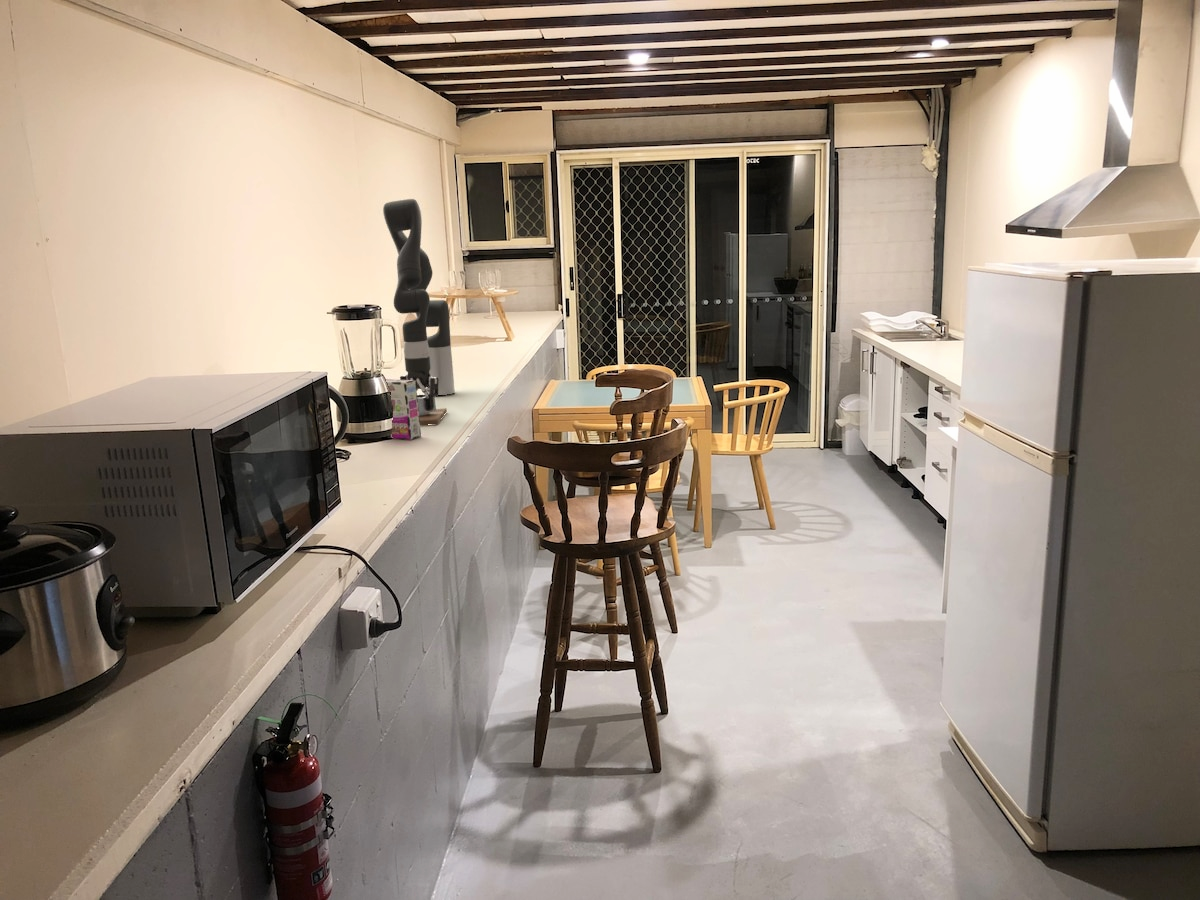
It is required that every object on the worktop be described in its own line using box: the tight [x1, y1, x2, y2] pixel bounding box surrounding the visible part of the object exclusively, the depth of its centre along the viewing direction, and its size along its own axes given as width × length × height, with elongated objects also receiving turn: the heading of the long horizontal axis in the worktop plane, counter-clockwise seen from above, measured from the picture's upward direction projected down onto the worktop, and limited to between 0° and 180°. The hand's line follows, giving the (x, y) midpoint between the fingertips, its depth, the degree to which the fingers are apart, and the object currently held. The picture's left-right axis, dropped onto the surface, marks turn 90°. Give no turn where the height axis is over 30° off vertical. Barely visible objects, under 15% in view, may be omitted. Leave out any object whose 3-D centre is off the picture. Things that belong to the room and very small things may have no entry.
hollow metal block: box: [417, 393, 437, 415], centre depth 278 cm, size 6×6×5 cm
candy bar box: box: [386, 378, 422, 441], centre depth 254 cm, size 11×5×16 cm, turn 62°
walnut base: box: [419, 407, 447, 426], centre depth 279 cm, size 18×12×2 cm, turn 0°
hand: (422, 409), depth 278 cm, fingers closed on hollow metal block, 6 cm apart
